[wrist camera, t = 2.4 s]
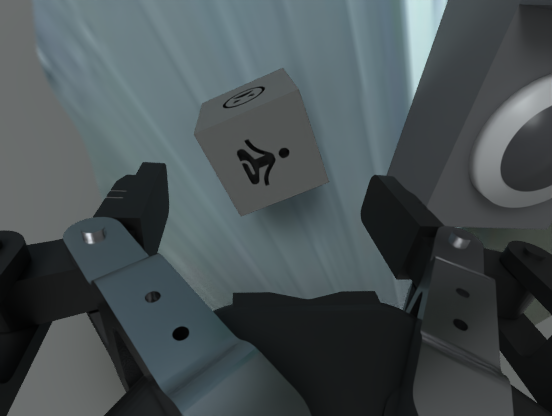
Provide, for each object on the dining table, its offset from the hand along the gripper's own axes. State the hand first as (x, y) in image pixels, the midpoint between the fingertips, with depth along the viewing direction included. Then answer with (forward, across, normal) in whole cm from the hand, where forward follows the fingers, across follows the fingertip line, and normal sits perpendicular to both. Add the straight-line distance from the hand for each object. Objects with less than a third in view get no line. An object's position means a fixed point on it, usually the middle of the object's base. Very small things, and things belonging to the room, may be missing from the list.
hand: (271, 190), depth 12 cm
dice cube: (+8, 0, 0) cm, 8 cm away
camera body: (+8, -14, -3) cm, 16 cm away
